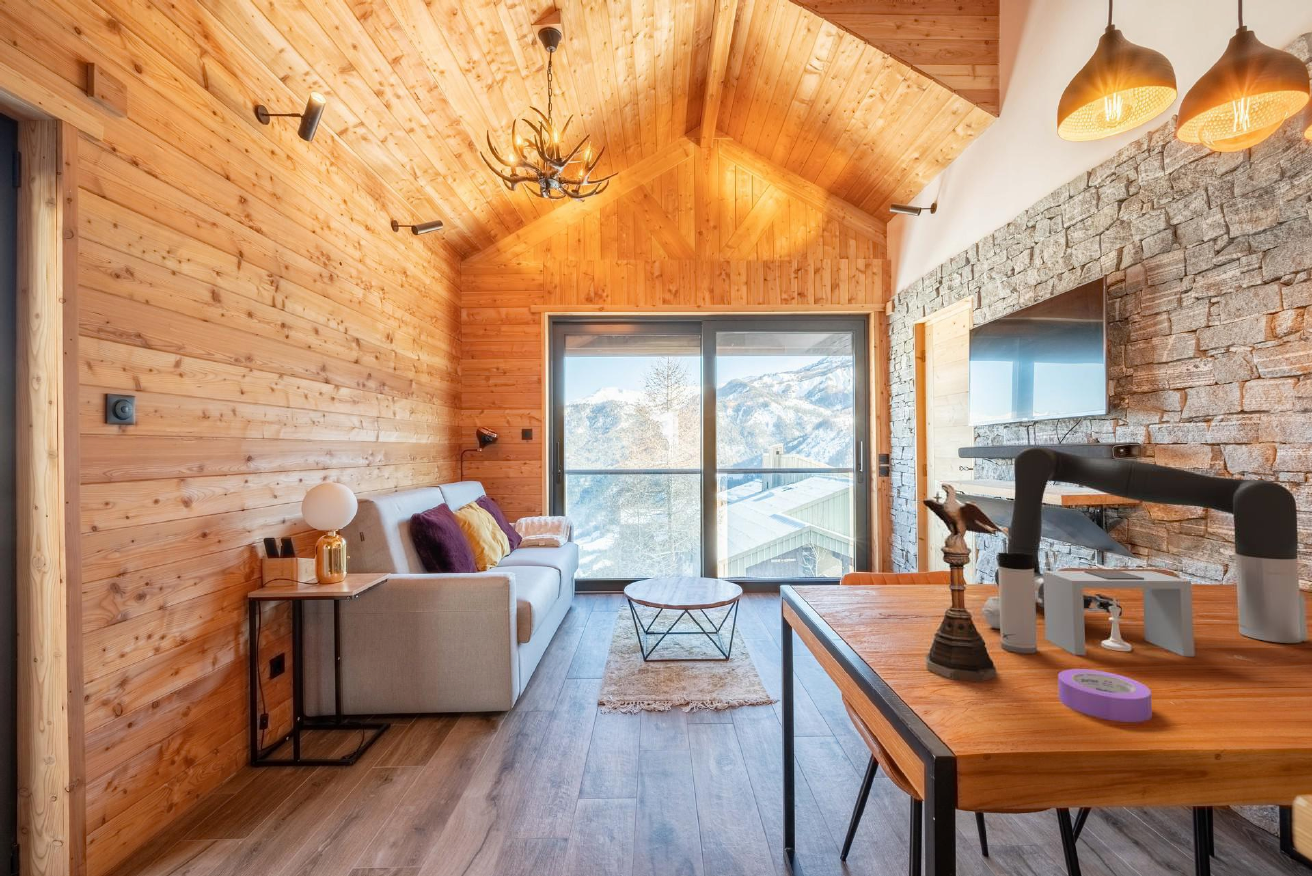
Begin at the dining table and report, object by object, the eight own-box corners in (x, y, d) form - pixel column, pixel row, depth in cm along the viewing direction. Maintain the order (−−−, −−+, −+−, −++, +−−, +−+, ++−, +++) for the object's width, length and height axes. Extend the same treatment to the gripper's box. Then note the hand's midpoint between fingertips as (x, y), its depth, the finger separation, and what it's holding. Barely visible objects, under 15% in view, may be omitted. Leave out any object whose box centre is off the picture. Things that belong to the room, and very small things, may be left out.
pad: (1119, 572, 123) (1119, 571, 123) (1144, 579, 116) (1144, 577, 116) (1084, 572, 124) (1084, 571, 124) (1106, 579, 117) (1106, 577, 117)
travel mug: (1004, 652, 117) (1000, 552, 118) (998, 642, 123) (995, 547, 124) (1040, 656, 115) (1037, 553, 116) (1033, 646, 121) (1029, 548, 122)
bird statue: (961, 648, 120) (955, 478, 121) (1025, 668, 108) (1019, 479, 109) (904, 662, 113) (899, 480, 114) (967, 685, 101) (960, 482, 102)
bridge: (1155, 640, 124) (1152, 571, 124) (1194, 656, 114) (1191, 581, 114) (1045, 639, 125) (1043, 571, 126) (1074, 654, 115) (1072, 580, 116)
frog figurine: (1013, 626, 135) (1012, 595, 135) (1012, 634, 129) (1011, 602, 129) (983, 622, 138) (982, 592, 139) (981, 630, 132) (980, 599, 133)
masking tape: (1171, 725, 86) (1170, 699, 86) (1083, 721, 88) (1082, 695, 88) (1121, 693, 97) (1120, 670, 97) (1044, 690, 99) (1044, 667, 99)
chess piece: (1137, 652, 117) (1135, 601, 117) (1109, 650, 118) (1107, 600, 118) (1123, 644, 121) (1121, 595, 122) (1096, 643, 122) (1094, 594, 123)
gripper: (1022, 577, 142) (1062, 593, 126) (1084, 577, 140) (1133, 593, 124) (1023, 609, 141) (1063, 628, 125) (1085, 609, 140) (1134, 629, 124)
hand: (1098, 611), depth 125 cm, fingers open, 8 cm apart
